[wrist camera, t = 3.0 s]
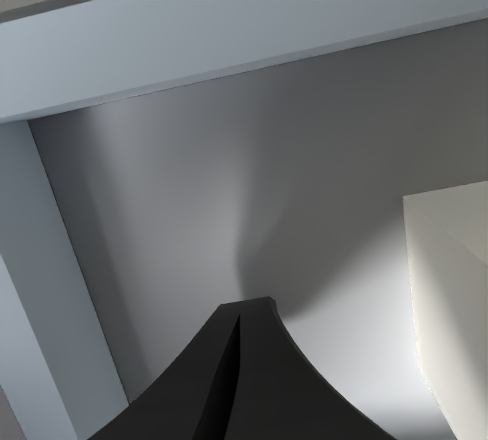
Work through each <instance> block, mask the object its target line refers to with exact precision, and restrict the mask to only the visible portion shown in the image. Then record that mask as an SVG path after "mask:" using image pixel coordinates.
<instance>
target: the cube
mask: <svg viewBox="0 0 488 440" xmlns="http://www.w3.org/2000/svg"><path fill="white" fill-rule="evenodd" d="M402 200H403V211H404V221H405V231H406V242H407V252H408V263H409V273H410V284H411V294H412V304H413V315H414V325H415V336H416V346H417V356H418V367H419V371H420V372H421V374H422V376H423V378H424V380H425V381H426V383H427V385H428V387H429V389H430V391H431V392H432V394H433V396H434V398H435V400H436V402H437V403H438V405H439V407H440V409H441V411H442V413H443V414H444V416H445V418H446V420H447V422H448V423H449V425H450V427H451V429H452V431H453V433H454V434H455V436H456V438H457V440H488V181H483V182H477V183H472V184H466V185H461V186H456V187H450V188H445V189H439V190H434V191H428V192H423V193H418V194H412V195H407V196H402Z"/></svg>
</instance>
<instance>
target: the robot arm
mask: <svg viewBox="0 0 488 440" xmlns="http://www.w3.org/2000/svg"><path fill="white" fill-rule="evenodd" d="M87 440H397V439H395V438H394V437H392V436H391V435H390V434H388V433H387V432H385V431H384V430H383V429H382V428H380V427H379V426H378V425H377V424H375V423H374V422H373V421H372V420H370V419H369V418H368V417H367V416H365V415H364V414H363V413H362V412H360V411H359V410H358V409H357V408H355V407H354V406H353V405H352V404H351V403H349V402H348V401H347V400H346V399H345V398H344V397H343V396H342V395H341V394H340V393H339V392H338V391H336V390H335V389H334V388H333V387H332V386H331V385H330V384H329V383H328V382H327V381H326V379H325V378H324V377H323V376H322V375H321V374H320V373H319V372H318V371H317V370H316V369H315V367H314V366H313V365H312V364H311V363H310V362H309V360H308V359H307V358H306V357H305V355H304V354H303V353H302V351H301V350H300V349H299V347H298V346H297V345H296V343H295V342H294V340H293V339H292V337H291V336H290V334H289V333H288V331H287V329H286V328H285V326H284V324H283V323H282V321H281V318H280V316H279V314H278V312H277V307H276V302H275V300H274V299H273V298H271V297H270V296H269V297H263V298H257V299H251V300H245V301H239V302H233V303H227V304H221V305H220V306H219V307H218V308H217V309H216V310H215V312H214V313H213V314H212V315H211V317H210V318H209V319H208V320H207V322H206V323H205V324H204V326H203V327H202V328H201V329H200V331H199V332H198V333H197V334H196V336H195V337H194V338H193V339H192V340H191V342H190V343H189V344H188V345H187V347H186V348H185V349H184V350H183V351H182V352H181V354H180V355H179V356H178V357H177V358H176V359H175V360H174V361H173V362H172V363H171V364H170V366H169V367H168V368H167V369H166V370H165V371H164V372H163V373H162V374H161V375H160V376H159V378H158V379H157V380H156V381H155V382H154V383H153V384H152V385H151V386H150V387H149V388H148V389H146V390H145V391H144V392H143V393H142V394H141V395H140V396H139V397H138V398H137V399H136V400H135V401H133V402H132V403H131V404H130V405H129V406H128V407H127V408H126V409H125V410H123V411H122V412H121V413H120V414H119V415H118V416H116V417H115V418H114V419H113V420H111V421H110V422H109V423H108V424H106V425H105V426H104V427H102V428H101V429H100V430H99V431H97V432H96V433H95V434H93V435H92V436H91V437H90V438H88V439H87Z"/></svg>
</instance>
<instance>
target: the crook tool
mask: <svg viewBox="0 0 488 440" xmlns="http://www.w3.org/2000/svg"><path fill="white" fill-rule="evenodd" d="M88 1H92V0H0V24H1V23H5V22H9V21H13V20H17V19H21V18H25V17H29V16H33V15H37V14H41V13H45V12H49V11H52V10H56V9H60V8H64V7H68V6H72V5H76V4H80V3H84V2H88Z"/></svg>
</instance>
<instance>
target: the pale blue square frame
mask: <svg viewBox="0 0 488 440" xmlns="http://www.w3.org/2000/svg"><path fill="white" fill-rule="evenodd" d="M485 18H488V0H92V1H88V2H84V3H80V4H76V5H72V6H68V7H64V8H60V9H56V10H52V11H49V12H45V13H41V14H37V15H33V16H29V17H25V18H21V19H17V20H13V21H9V22H5V23H1V24H0V384H1V387H2V389H3V391H4V393H5V395H6V397H7V399H8V402H9V404H10V406H11V408H12V410H13V412H14V414H15V417H16V419H17V421H18V423H19V425H20V427H21V429H22V432H23V434H24V436H25V438H26V440H87V439H88V438H90V437H91V436H92V435H93V434H95V433H96V432H97V431H99V430H100V429H101V428H102V427H104V426H105V425H106V424H108V423H109V422H110V421H111V420H113V419H114V418H115V417H116V416H118V415H119V414H120V413H121V412H122V411H123V410H125V409H126V408H127V407H128V406H129V403H128V400H127V398H126V395H125V392H124V389H123V387H122V384H121V381H120V378H119V375H118V373H117V370H116V367H115V364H114V361H113V359H112V356H111V353H110V350H109V348H108V345H107V342H106V339H105V336H104V334H103V331H102V328H101V325H100V322H99V320H98V317H97V314H96V311H95V309H94V306H93V303H92V300H91V297H90V295H89V292H88V289H87V286H86V283H85V281H84V278H83V275H82V272H81V270H80V267H79V264H78V261H77V258H76V256H75V253H74V250H73V247H72V244H71V242H70V239H69V236H68V233H67V231H66V228H65V225H64V222H63V219H62V217H61V214H60V211H59V208H58V205H57V203H56V200H55V197H54V194H53V192H52V189H51V186H50V183H49V180H48V178H47V175H46V172H45V169H44V166H43V164H42V161H41V158H40V155H39V153H38V150H37V147H36V144H35V141H34V139H33V136H32V133H31V130H30V127H29V125H28V122H27V120H31V119H35V118H40V117H44V116H49V115H53V114H58V113H62V112H67V111H71V110H76V109H80V108H85V107H89V106H94V105H98V104H103V103H107V102H112V101H116V100H121V99H125V98H130V97H134V96H139V95H143V94H148V93H152V92H157V91H161V90H166V89H170V88H175V87H179V86H184V85H188V84H193V83H197V82H202V81H206V80H211V79H215V78H220V77H224V76H229V75H233V74H238V73H242V72H247V71H251V70H256V69H260V68H265V67H269V66H274V65H278V64H283V63H287V62H292V61H296V60H301V59H305V58H310V57H314V56H319V55H323V54H328V53H332V52H337V51H341V50H346V49H350V48H355V47H359V46H364V45H368V44H373V43H377V42H382V41H386V40H391V39H395V38H400V37H404V36H409V35H413V34H418V33H422V32H427V31H431V30H436V29H440V28H445V27H449V26H454V25H458V24H463V23H467V22H472V21H476V20H481V19H485Z"/></svg>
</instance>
